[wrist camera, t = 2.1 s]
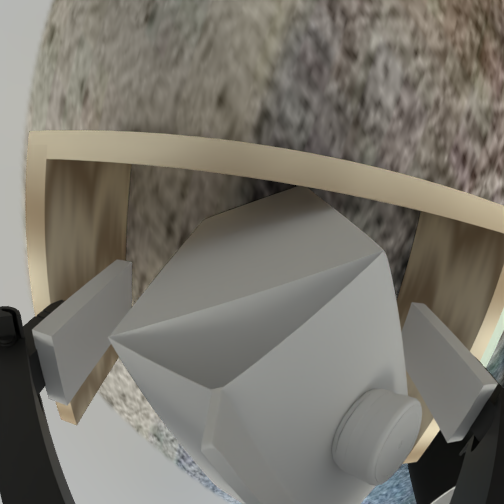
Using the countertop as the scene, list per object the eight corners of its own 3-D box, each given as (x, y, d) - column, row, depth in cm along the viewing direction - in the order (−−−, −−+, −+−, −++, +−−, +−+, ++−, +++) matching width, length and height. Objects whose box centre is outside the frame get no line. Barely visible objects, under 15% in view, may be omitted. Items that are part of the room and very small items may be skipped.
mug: (449, 447, 29) (476, 503, 20) (388, 462, 30) (408, 528, 20) (484, 376, 26) (529, 436, 16) (416, 391, 26) (456, 468, 16)
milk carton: (240, 308, 24) (204, 578, 6) (203, 218, 22) (26, 448, 4) (333, 278, 23) (447, 532, 5) (303, 183, 21) (498, 348, 3)
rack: (119, 135, 20) (29, 131, 11) (439, 188, 20) (531, 216, 11) (114, 340, 25) (61, 419, 16) (379, 377, 25) (416, 461, 16)
